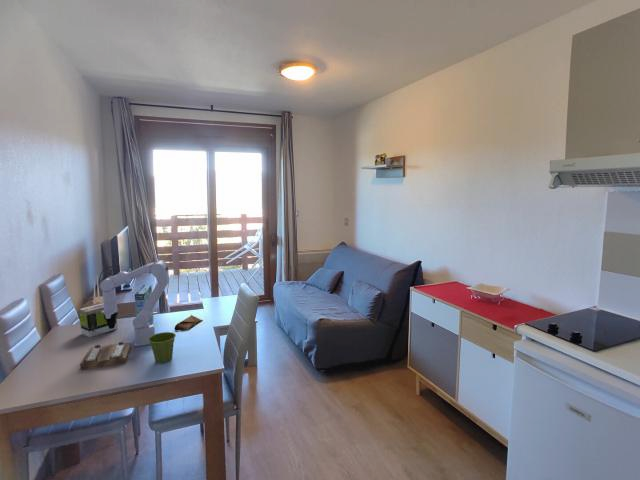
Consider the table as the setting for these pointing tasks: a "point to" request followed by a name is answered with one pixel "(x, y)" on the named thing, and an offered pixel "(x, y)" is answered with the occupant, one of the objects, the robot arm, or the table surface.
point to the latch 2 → (118, 351)
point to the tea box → (93, 320)
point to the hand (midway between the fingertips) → (112, 327)
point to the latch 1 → (94, 354)
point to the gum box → (143, 300)
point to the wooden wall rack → (106, 356)
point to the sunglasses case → (188, 323)
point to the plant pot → (162, 346)
